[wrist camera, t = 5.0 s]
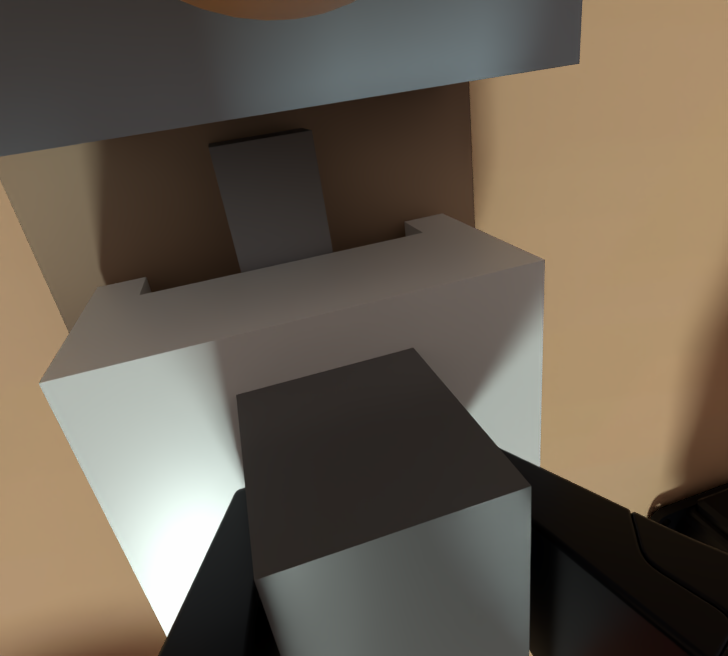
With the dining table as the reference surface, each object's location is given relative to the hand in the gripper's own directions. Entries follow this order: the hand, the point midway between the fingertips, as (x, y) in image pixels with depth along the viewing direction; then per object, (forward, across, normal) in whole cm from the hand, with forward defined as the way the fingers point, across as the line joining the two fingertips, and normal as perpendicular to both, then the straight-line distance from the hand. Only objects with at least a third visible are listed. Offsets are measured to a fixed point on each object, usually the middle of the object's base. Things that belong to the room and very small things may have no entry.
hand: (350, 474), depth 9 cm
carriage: (+5, 0, 0) cm, 5 cm away
